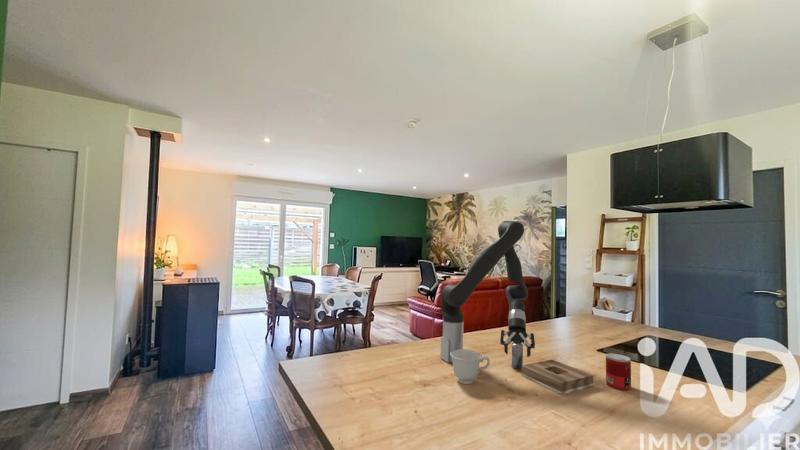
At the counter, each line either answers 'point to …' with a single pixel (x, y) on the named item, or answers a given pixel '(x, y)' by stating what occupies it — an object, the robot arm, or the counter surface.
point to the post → (517, 355)
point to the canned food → (618, 371)
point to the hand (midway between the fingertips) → (517, 354)
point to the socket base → (557, 376)
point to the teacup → (467, 364)
